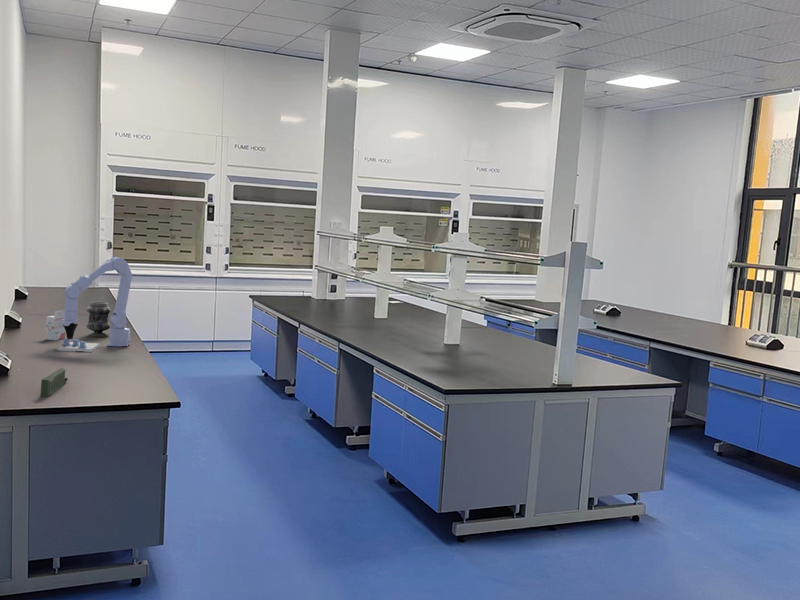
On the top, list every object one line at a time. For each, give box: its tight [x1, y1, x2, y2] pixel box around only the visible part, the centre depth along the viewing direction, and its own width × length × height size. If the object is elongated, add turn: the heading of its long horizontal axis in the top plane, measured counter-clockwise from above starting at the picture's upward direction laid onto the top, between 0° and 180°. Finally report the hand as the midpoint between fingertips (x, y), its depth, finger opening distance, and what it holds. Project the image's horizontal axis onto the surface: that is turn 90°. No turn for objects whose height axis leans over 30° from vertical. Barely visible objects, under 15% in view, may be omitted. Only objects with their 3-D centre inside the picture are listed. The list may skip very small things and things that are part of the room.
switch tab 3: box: [78, 340, 87, 348], centre depth 342 cm, size 3×3×3 cm
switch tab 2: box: [72, 338, 80, 346], centre depth 346 cm, size 3×3×3 cm
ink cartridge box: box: [45, 309, 66, 341], centre depth 367 cm, size 9×5×15 cm, turn 168°
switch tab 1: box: [61, 338, 71, 346], centre depth 345 cm, size 3×3×3 cm
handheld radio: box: [39, 367, 69, 398], centre depth 267 cm, size 7×3×25 cm
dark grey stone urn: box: [85, 301, 112, 338], centre depth 385 cm, size 12×12×18 cm
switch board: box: [57, 341, 101, 353], centre depth 347 cm, size 15×16×2 cm
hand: (69, 338), depth 351 cm, fingers closed
